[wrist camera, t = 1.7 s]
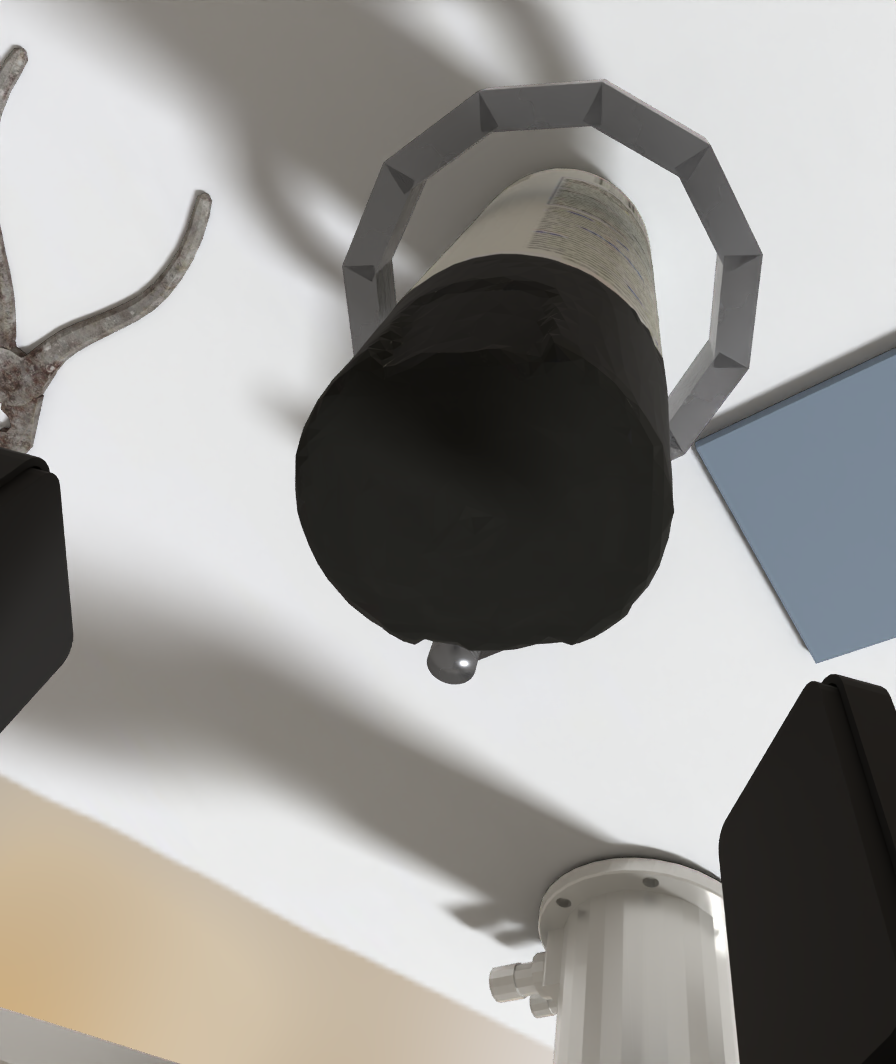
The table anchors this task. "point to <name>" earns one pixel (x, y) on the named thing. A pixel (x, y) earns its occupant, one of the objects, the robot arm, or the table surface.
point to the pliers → (26, 377)
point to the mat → (821, 503)
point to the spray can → (502, 432)
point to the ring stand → (639, 132)
